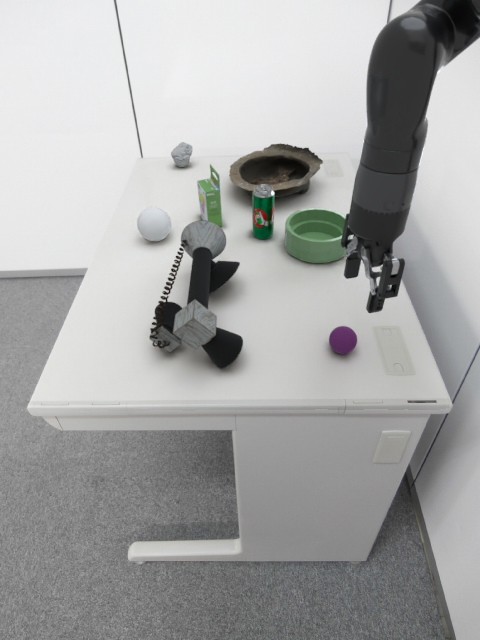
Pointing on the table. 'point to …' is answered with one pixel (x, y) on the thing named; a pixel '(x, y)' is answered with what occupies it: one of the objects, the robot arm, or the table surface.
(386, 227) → the robot arm
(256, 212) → the soda can
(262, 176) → the stone bowl
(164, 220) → the ball
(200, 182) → the ink box
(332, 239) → the green bowl
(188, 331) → the telephone
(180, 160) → the grey muffin
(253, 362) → the table surface
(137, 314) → the table surface
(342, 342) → the plum ball
